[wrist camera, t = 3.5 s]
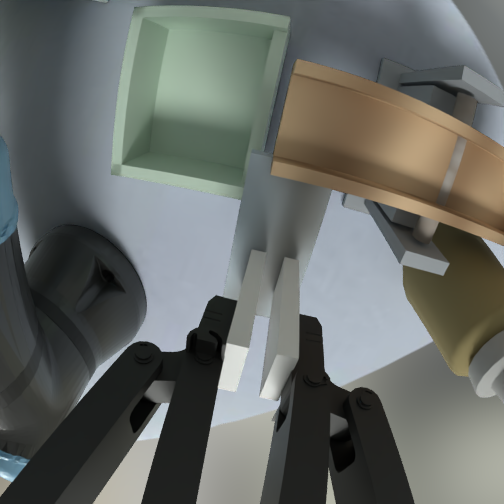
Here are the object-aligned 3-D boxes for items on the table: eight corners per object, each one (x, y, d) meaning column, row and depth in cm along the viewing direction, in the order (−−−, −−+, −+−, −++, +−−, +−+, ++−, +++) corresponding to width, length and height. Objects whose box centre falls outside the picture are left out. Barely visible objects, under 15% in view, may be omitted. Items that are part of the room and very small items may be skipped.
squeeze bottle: (427, 189, 21) (575, 350, 5) (480, 235, 22) (591, 378, 7) (372, 264, 25) (436, 464, 9) (430, 298, 26) (497, 460, 10)
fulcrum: (342, 204, 23) (369, 269, 14) (382, 58, 17) (440, 38, 9) (407, 223, 23) (456, 290, 14) (449, 89, 17) (527, 96, 9)
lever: (229, 272, 21) (215, 330, 16) (278, 38, 13) (280, 11, 8) (450, 313, 22) (477, 360, 17) (523, 147, 14) (575, 171, 9)
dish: (142, 158, 23) (111, 174, 18) (164, 21, 17) (134, 7, 13) (257, 180, 23) (249, 201, 18) (290, 34, 17) (290, 16, 13)
